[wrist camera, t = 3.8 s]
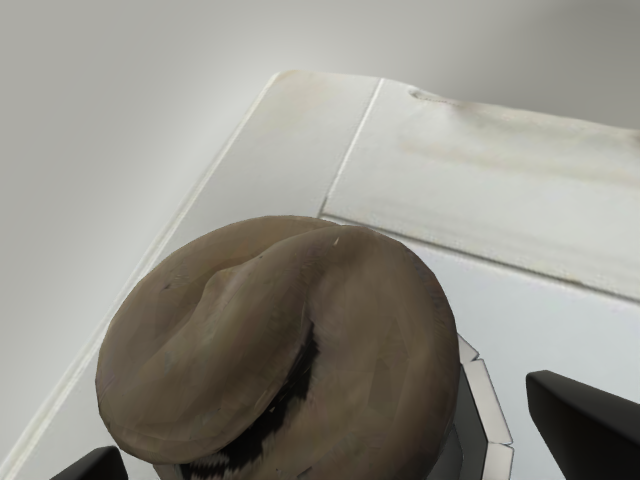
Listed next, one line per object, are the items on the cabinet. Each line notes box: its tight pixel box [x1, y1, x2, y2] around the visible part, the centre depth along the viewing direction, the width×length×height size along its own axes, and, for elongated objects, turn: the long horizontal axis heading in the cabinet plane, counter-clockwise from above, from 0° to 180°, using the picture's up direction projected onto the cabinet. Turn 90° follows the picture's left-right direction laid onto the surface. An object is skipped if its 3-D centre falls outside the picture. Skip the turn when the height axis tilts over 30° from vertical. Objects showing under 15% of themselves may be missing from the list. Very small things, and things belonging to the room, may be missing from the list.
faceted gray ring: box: [453, 333, 514, 480], centre depth 16 cm, size 11×11×5 cm
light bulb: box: [95, 215, 461, 480], centre depth 11 cm, size 6×6×15 cm
